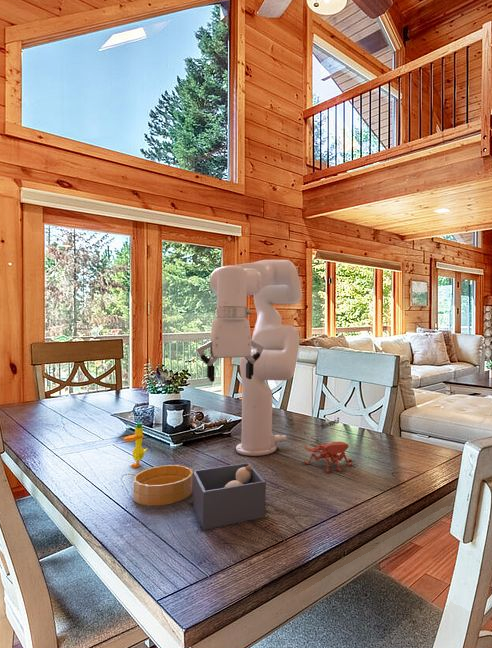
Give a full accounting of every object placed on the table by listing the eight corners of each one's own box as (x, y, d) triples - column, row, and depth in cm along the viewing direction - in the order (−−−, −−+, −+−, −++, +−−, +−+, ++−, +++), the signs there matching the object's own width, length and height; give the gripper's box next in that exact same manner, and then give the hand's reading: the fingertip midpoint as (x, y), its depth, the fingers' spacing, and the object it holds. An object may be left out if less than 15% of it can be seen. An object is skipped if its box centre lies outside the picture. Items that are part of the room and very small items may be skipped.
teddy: (234, 510, 102) (253, 473, 108) (241, 508, 98) (261, 470, 104) (215, 499, 101) (235, 462, 107) (221, 496, 97) (242, 459, 103)
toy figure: (125, 471, 122) (127, 426, 122) (120, 467, 125) (121, 424, 125) (150, 464, 127) (151, 422, 127) (144, 461, 130) (145, 420, 130)
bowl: (187, 481, 116) (188, 462, 116) (196, 501, 104) (197, 480, 104) (131, 490, 110) (132, 469, 110) (134, 512, 98) (134, 489, 98)
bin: (248, 493, 108) (249, 462, 109) (265, 517, 97) (265, 481, 97) (191, 504, 103) (192, 470, 103) (202, 530, 91) (203, 492, 91)
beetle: (359, 462, 131) (359, 419, 131) (335, 475, 121) (335, 428, 121) (318, 452, 140) (319, 411, 140) (292, 463, 130) (293, 419, 130)
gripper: (259, 313, 124) (258, 375, 124) (194, 313, 116) (193, 379, 116) (268, 314, 117) (267, 379, 117) (200, 313, 109) (198, 384, 109)
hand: (230, 379), depth 116 cm, fingers open, 9 cm apart
